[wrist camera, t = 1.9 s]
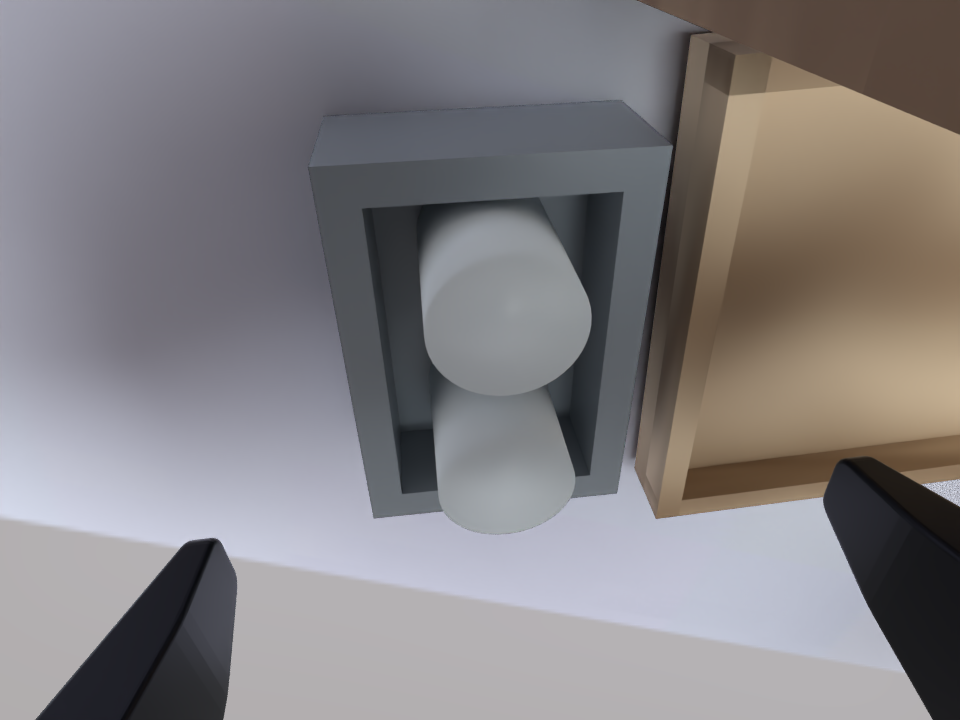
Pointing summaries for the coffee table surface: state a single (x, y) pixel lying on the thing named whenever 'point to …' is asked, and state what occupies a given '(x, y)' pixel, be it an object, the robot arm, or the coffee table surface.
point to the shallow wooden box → (799, 290)
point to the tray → (484, 169)
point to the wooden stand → (852, 45)
